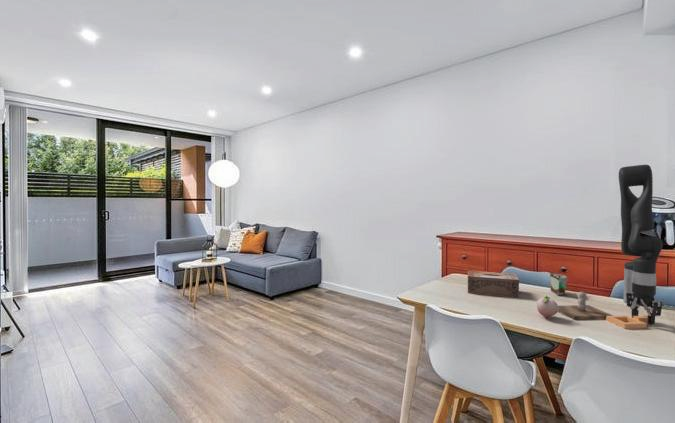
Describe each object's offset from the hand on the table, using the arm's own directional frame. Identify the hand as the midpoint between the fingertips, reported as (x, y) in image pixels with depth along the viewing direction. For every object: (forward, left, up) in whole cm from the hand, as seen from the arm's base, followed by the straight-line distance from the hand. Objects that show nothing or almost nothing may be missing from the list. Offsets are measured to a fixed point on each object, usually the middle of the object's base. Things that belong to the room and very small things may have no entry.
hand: (642, 321), depth 140 cm
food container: (+4, -44, -1) cm, 44 cm away
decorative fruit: (+35, -9, -1) cm, 37 cm away
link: (+4, 0, -1) cm, 5 cm away
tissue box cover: (+40, -50, -2) cm, 64 cm away
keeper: (+16, -13, -1) cm, 21 cm away
